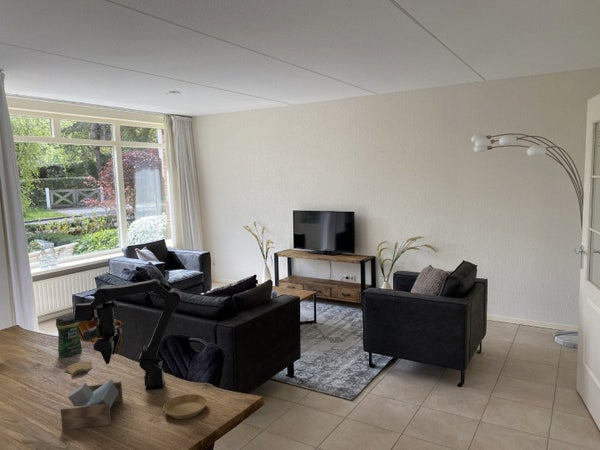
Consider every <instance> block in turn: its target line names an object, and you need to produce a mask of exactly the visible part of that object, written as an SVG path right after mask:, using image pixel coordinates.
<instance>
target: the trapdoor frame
mask: <svg viewBox="0 0 600 450" xmlns="http://www.w3.org/2000/svg"><path fill="white" fill-rule="evenodd" d="M106 383H107V382H105V383H95V384H87V386H88V387H89V388H90V390H91V391H92V392H93V391H94V390H96V389H97V388H99V387H101V386H102V385H104V384H106ZM113 384H114V385H115V387H116V388H117V389H118V391H119V393H118V395H117V397H116V398H115V400H114V402H113V403H117V402H118V403H120V402H123V401H124V397H123V396H124V395H123V387H122V381H116V382H114V381H113ZM80 386H81V385H77V387H76V388H78V387H80ZM60 419H61V429H62V430H63V431H64V430H72V429H74V430H75V429H81V428H92V427H101V426H102V427H103V426H109V425H112V418H111V408H110V406H109V403H107V404H96V405H86V406H76V407H74V406H69V407H68V406H65V407H61V408H60Z"/></svg>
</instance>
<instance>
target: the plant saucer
mask: <svg viewBox="0 0 600 450" xmlns="http://www.w3.org/2000/svg"><path fill="white" fill-rule="evenodd" d="M207 404H208V399H207V397H205V396H203V395H201V394H195V393H194V394H190V393H189V394H182V395H179V396H176V397H173V398H171V399H169V400H168V401H167V402H165V403H164V404H163V409H162V410H163V411H164V412H165V413H166V415H168V416H169V417H172V418H173V419H177V420H184V419H189V418H193V417H196V416H197V415H199V414H200V413H201V412H202V411H203V410H204V409H205V407H206V406H207Z"/></svg>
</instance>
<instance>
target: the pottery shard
mask: <svg viewBox="0 0 600 450" xmlns="http://www.w3.org/2000/svg"><path fill="white" fill-rule="evenodd" d="M92 364H93V363H92V362H91V361H79V362H75V363H72V364H69V365H68V366H67V367H65V369H64V371H63V372H64V373H65V374H69V375H72V376H75V375H76V374H79V373H82V372H89V371H90V370H92V369H93V365H92Z"/></svg>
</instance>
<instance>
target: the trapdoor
mask: <svg viewBox="0 0 600 450" xmlns="http://www.w3.org/2000/svg"><path fill="white" fill-rule="evenodd" d="M105 383H106V384H104V385H102V386H101V387H99V388H97V389H96V390H94V391H93V394H94V395H93V396H92V398H91V399H90V401H89V402H87V403H85V404H84V405H82V406H86V405H96V404H107V403H109V406H110V409H111V407H112V406H113V404H114V403H115V402H114V400H115V398H116V397H117V395H118V393H119V391H118V389H117V388H116V387H115V385H114V384H113V383H114V380H113V379H111V380H109V381H107V382H105Z"/></svg>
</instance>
